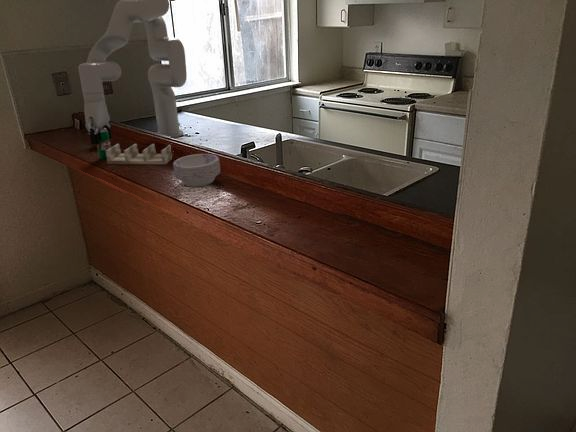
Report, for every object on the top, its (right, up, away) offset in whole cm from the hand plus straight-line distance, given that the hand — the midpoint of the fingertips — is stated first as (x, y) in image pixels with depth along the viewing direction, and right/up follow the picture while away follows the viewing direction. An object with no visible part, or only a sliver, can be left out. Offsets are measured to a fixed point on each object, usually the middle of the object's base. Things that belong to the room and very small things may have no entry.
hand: (101, 141), depth 195 cm
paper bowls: (+43, -18, -28) cm, 55 cm away
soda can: (+1, -7, +3) cm, 7 cm away
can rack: (+16, -8, -1) cm, 18 cm away
